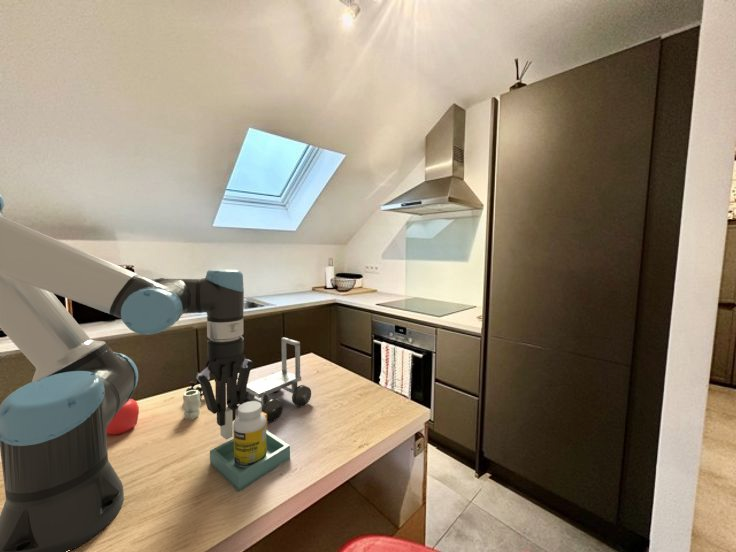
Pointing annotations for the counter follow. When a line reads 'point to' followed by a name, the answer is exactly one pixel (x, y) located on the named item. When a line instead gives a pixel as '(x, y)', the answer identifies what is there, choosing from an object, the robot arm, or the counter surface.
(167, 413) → the counter surface
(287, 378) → the trolley
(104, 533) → the counter surface
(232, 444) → the tray
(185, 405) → the valve
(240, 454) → the pill bottle
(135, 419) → the apple
